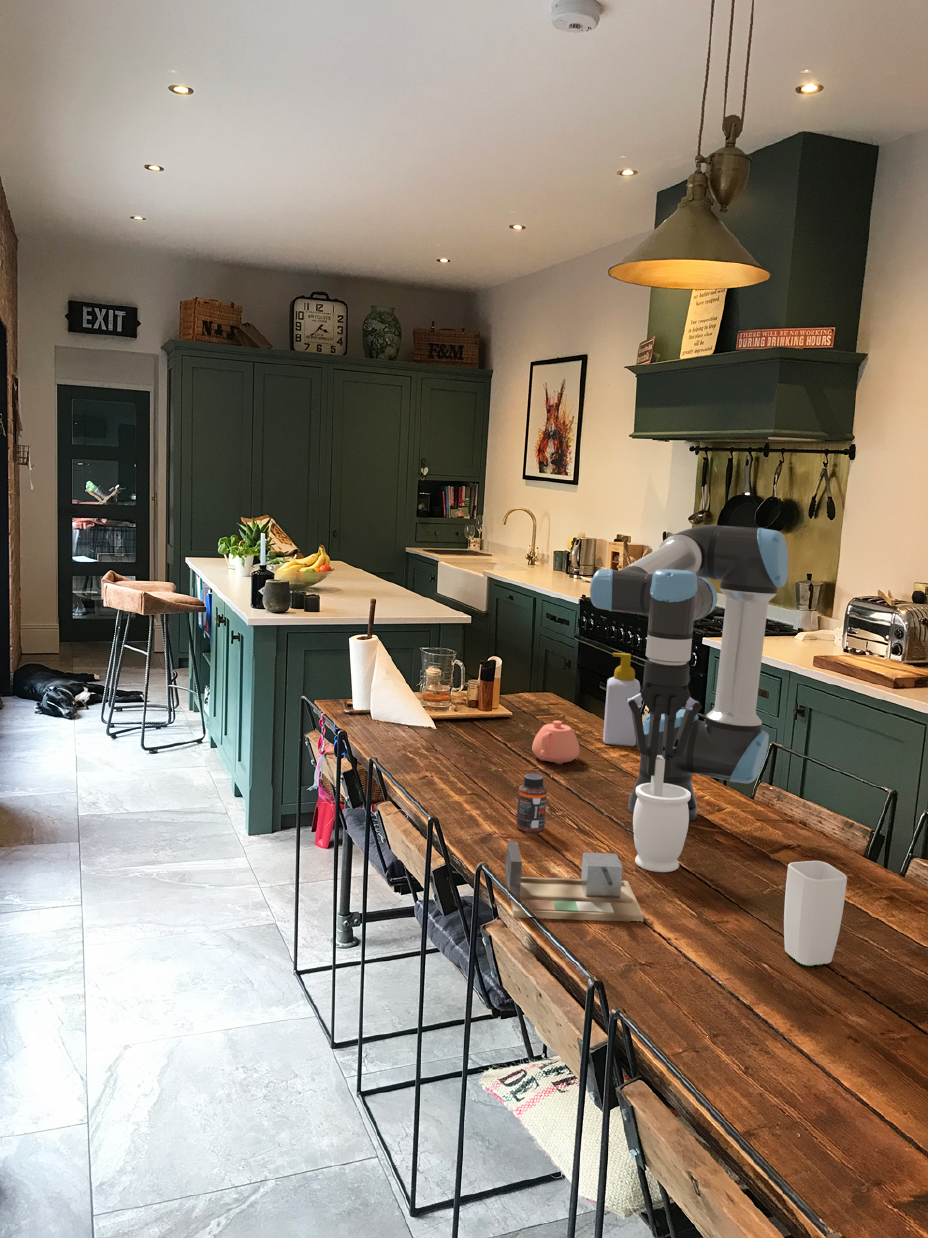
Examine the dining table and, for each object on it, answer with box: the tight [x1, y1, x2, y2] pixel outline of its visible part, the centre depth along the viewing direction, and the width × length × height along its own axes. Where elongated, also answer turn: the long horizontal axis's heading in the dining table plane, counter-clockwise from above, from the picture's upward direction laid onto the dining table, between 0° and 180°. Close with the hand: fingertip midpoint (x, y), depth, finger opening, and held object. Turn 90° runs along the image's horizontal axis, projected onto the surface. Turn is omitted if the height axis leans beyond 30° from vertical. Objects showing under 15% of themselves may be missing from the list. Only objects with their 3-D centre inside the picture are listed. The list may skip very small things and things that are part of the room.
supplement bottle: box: [515, 773, 548, 833], centre depth 208 cm, size 6×6×11 cm
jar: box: [632, 783, 691, 873], centre depth 191 cm, size 11×10×15 cm
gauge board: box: [504, 841, 645, 923], centre depth 173 cm, size 22×14×8 cm, turn 92°
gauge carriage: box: [580, 851, 624, 898], centre depth 172 cm, size 6×11×6 cm, turn 2°
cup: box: [783, 860, 848, 967], centre depth 157 cm, size 7×7×15 cm
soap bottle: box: [602, 652, 641, 747], centre depth 277 cm, size 9×9×25 cm
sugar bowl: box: [531, 720, 580, 765], centre depth 257 cm, size 12×14×10 cm
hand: (656, 793), depth 173 cm, fingers closed
